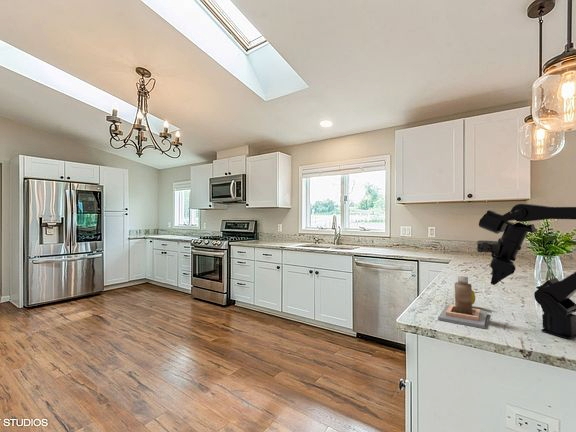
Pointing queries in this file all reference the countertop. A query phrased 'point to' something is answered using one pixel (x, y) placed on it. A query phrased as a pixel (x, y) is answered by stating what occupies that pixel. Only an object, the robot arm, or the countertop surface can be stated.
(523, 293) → the countertop surface
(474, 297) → the lemon
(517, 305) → the countertop surface
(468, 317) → the display stand
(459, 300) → the pepper mill
